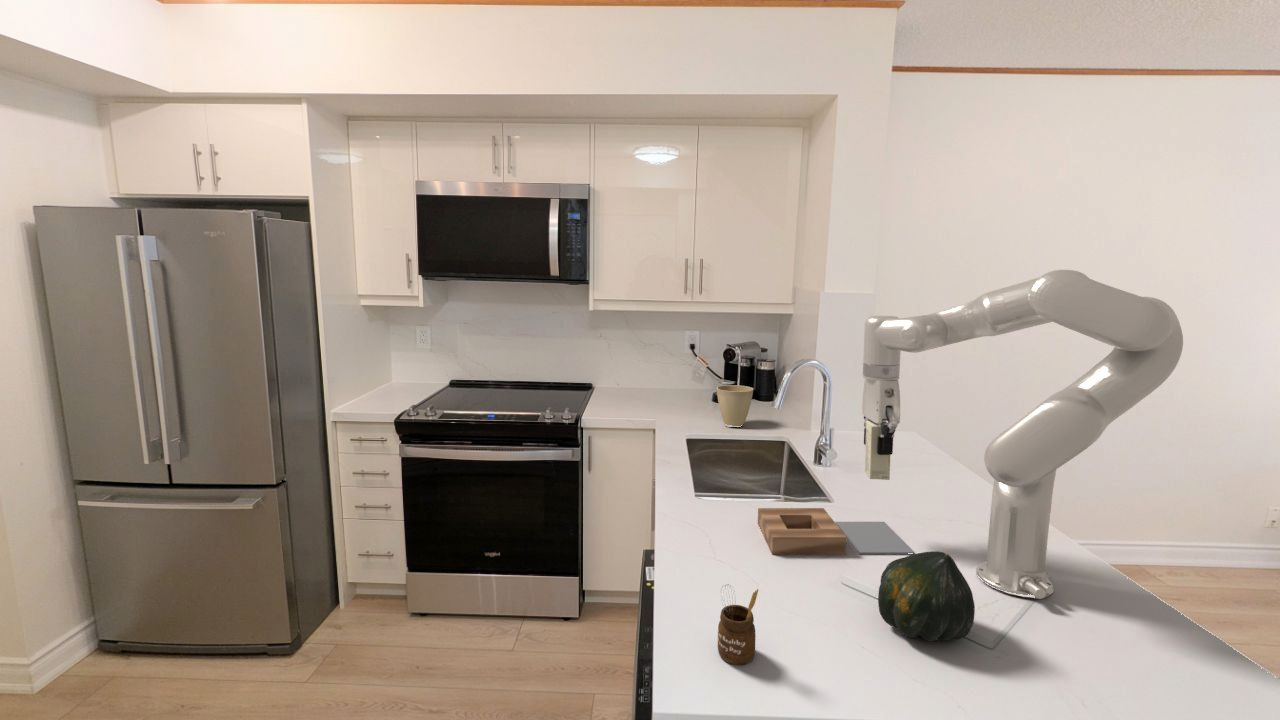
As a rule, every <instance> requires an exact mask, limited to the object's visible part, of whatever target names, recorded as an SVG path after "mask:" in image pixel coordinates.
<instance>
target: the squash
mask: <svg viewBox="0 0 1280 720" xmlns="http://www.w3.org/2000/svg"><path fill="white" fill-rule="evenodd" d="M877 595H878V597H877V603H878V609H879V613H880V616H881V618H882V620H883V621H884V622H885V623H886V624H887V625H888V626H890V627H892V628H894V629H897V630H898V631H899V632H900V633H901V635H903V636H907V637H909V638H916V637H918V636H921V637H922V638H923V640H925V641H928V642H936V640H937V641H948V640H953V641H955V640H961V639H963V638H965V637H966V636H968V635H969V634H970V633H971V632H970V631H971V630H972V628H973V625H974V620H975V614H976V613H975V612H976V611H975V609H976V608H975V601H974V596H973V591H972V590H971V587H970V584H969V583H968V581H967V580H966V578H965V576H964V575H963V573H962V572H961V570H960V569H959V567H958V565H957V564H956V562H955V560H954V559H953V558H952V556H950V554H948V553H946V552H944V551H938V550H936V551H935V550H933V551H924V552H918V553H915V554H914V555H907V556H904V557H900V558H898V559H894V560H892V561H890V562H889V563H888V564H887V565H886V566H885V569H884V570H883V572H882V573H881V576H880V585H879V587H878V594H877Z"/></svg>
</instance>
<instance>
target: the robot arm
mask: <svg viewBox="0 0 1280 720" xmlns="http://www.w3.org/2000/svg"><path fill="white" fill-rule="evenodd" d="M1050 323H1055V324H1056V325H1057V324H1058V325H1059V326H1062V327H1064V328H1066V329H1069V330H1072V331H1074V332H1076V333H1079V334H1081V335H1083V336H1086V337H1088V338H1091V339H1093V340H1096V341H1098V342H1101V343H1104V344H1107V345H1108V346H1111V347H1113V349H1112V350H1111V352H1110V353H1108V354H1107V355H1106V356H1105V357H1104V358H1102V360H1100V361H1099V362H1098V363H1096V364H1095V365H1094V366H1092V367H1091V368H1090V370H1088V371H1087V372H1085V373H1084V374H1082V376H1080V377H1078V378H1077V379H1076V380H1075V381H1073V382H1072V383H1070V384H1069V385H1068V386H1066V387H1065V388H1063V389H1060V390H1059V391H1058V392H1055V393H1053V394H1052V395H1050V396H1049V397H1047V398H1046V399H1045V400H1044V401H1042V402H1040V403H1039V404H1038V405H1036V407H1035V408H1033V409H1032V410H1030V412H1028V413H1027V414H1025V415H1024V416H1023V417H1022V418H1020V419H1019V420H1018V421H1016V422H1015V423H1014V424H1012V425H1011V426H1010V427H1008V428H1006V429H1005V430H1004V431H1002V433H1000V434H999V435H998V436H996V437H995V438H994V439H992V440H991V442H989V444H988V446H987V447H986V449H985V452H984V458H983V461H984V466H985V469H986V470H987V472H988V473H989V475H990V476H991V477H992V478H993V484H992V492H991V493H992V494H991V501H990V502H991V504H990V514H989V515H990V516H989V527H988V541H987V552H986V553H987V554H986V561H984V562H982V563H980V564H978V565H977V567H976V576H977V575H978V576H979V577H980V578H981V579H982V580H983V581H984V582H986V583H988V584H989V585H991V586H993V587H995V588H997V589H1000V590H1003V591H1007V592H1011V593H1016V594H1023V595H1028V594H1029V595H1030V594H1031V595H1034V596H1035V598H1034V599H1037V600H1041V599H1045V598H1048V597H1050V596H1051V595H1052V594H1053V593H1054V585H1053V583H1052V581H1051V580H1050V578H1048V572H1046V571H1045V570H1046V562H1047V561H1046V560H1047V552H1048V541H1049V540H1048V539H1049V530H1050V529H1049V528H1050V521H1051V519H1050V518H1051V512H1052V504H1053V503H1052V502H1053V501H1052V500H1053V493H1054V488H1055V487H1054V486H1055V479H1056V476H1057V475H1056V474H1057V470H1058V469H1059V468H1060V467H1062V466H1063V465H1065V464H1067V463H1068V462H1070V461H1071V460H1073V459H1074V458H1075V457H1077V456H1078V455H1080V454H1081V453H1082V452H1084V451H1085V450H1087V449H1088V448H1089V447H1091V446H1092V445H1094V443H1095V442H1096V441H1097V440H1099V439H1100V437H1101V436H1102V434H1103V433H1104V431H1106V429H1107V427H1108V426H1109V425H1110V424H1111V423H1113V421H1116V420H1117V419H1118V418H1119V417H1121V416H1122V415H1124V414H1125V413H1126V412H1128V411H1129V410H1131V409H1132V408H1134V406H1136V405H1137V404H1138V403H1140V402H1141V401H1142V400H1144V399H1145V398H1147V397H1148V396H1150V395H1151V394H1152V393H1153V392H1154V391H1155V390H1157V389H1158V388H1159V387H1161V385H1163V383H1164V382H1166V381H1167V380H1168V378H1169V377H1170V376H1171V375H1172V373H1173V372H1174V370H1175V369H1176V367H1177V366H1178V364H1179V362H1180V360H1181V359H1180V358H1181V356H1182V352H1183V347H1184V335H1183V329H1182V327H1181V323H1180V321H1179V318H1178V316H1177V314H1176V312H1175V311H1174V309H1173V308H1172V306H1170V305H1169V304H1168V303H1167V302H1166V301H1164V300H1161V299H1159V298H1156V297H1151V296H1141V295H1138V294H1134V293H1131V292H1128V291H1125V290H1122V289H1120V288H1116V287H1114V286H1111V285H1108V284H1105V283H1103V282H1099V281H1096V280H1095V279H1091V278H1090V277H1089V276H1087V275H1086V274H1085V273H1083V272H1081V271H1079V270H1074V269H1055V270H1052V271H1048V272H1045V273H1043V274H1042V275H1041V276H1039V277H1036V278H1033V279H1030V280H1027V281H1023V282H1020V283H1017V284H1013V285H1009V286H1005V287H1002V288H998V289H995V290H991V291H988V292H985V293H982V294H981V295H979V296H977V297H976V298H974V300H970V301H969V302H966V303H963V304H961V305H958V306H953V307H951V308H948V309H947V308H946V309H944V310H940V311H936V312H933V313H930V314H923V315H917V316H908V317H898V316H894V315H872V316H868V317H867V318H866V320H865V322H864V335H863V337H864V338H863V360H862V361H863V362H862V365H863V366H862V378H863V379H864V383H863V392H862V407H861V408H862V414H863V415H862V416H863V419H864V421H863V427H864V430H863V445H864V446H866V421H873V422H875V423H876V424H878V428H879V435H880V437H878V441H877V454H879V455H890V456H891V455H893V453H894V452H893V451H894V450H893V448H894V438H895V433H896V429H897V427H898V425H899V424H900V422H901V393H900V392H901V390H900V382H899V380H900V369H901V365H900V364H901V352H907V353H921V352H925V351H930V350H934V349H938V348H942V347H945V346H948V345H953V344H956V343H957V344H958V343H960V342H964V341H970V340H973V339H978V338H983V337H996V336H1000V335H1004V334H1009V333H1012V332H1016V331H1021V330H1024V329H1028V328H1029V329H1030V328H1033V327H1037V326H1041V325H1044V324H1050ZM882 421H886V422H887V423H882ZM883 426H888V427H886V428H885V429H884V431H883ZM978 576H977V577H978ZM1034 599H1033V600H1034Z"/></svg>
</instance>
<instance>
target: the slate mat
mask: <svg viewBox="0 0 1280 720" xmlns="http://www.w3.org/2000/svg"><path fill="white" fill-rule="evenodd" d="M834 522H835V523H836V525H837V526H838V527H839V528H840V530H841V531H842V532H843V533H844V535H845V536H846V540H847V541H848V542H849V543H850V544H851V546H852V547H853V548H854V549H855V551H856V553H857V554H858V555H865V556H866V555H867V556H868V555H871V556H873V555H876V554H878V555H879V556H880V555H881V554H908V553H913V554H916V553H915V551H914V550H913V549H912V548H911V547H910V546H909V545H908V544H907V543H906V542H905V541H904V540H903V539H902V538H901V537H900V536H899V535H898V534H897V533H896V532H895V530H894V529H892V528H891V526H889V525H888V523H886V522H885V521H834ZM876 556H877V555H876Z"/></svg>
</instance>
